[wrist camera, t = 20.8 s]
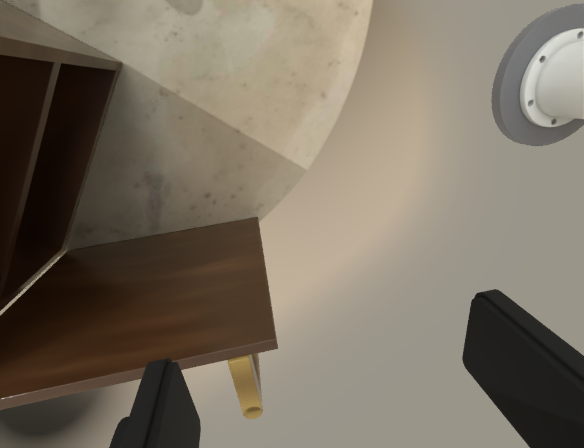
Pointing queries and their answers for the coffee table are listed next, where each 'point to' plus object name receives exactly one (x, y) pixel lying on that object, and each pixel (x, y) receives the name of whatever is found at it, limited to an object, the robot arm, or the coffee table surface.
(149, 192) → the coffee table surface
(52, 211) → the cupboard
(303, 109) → the coffee table surface
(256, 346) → the door
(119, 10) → the coffee table surface
